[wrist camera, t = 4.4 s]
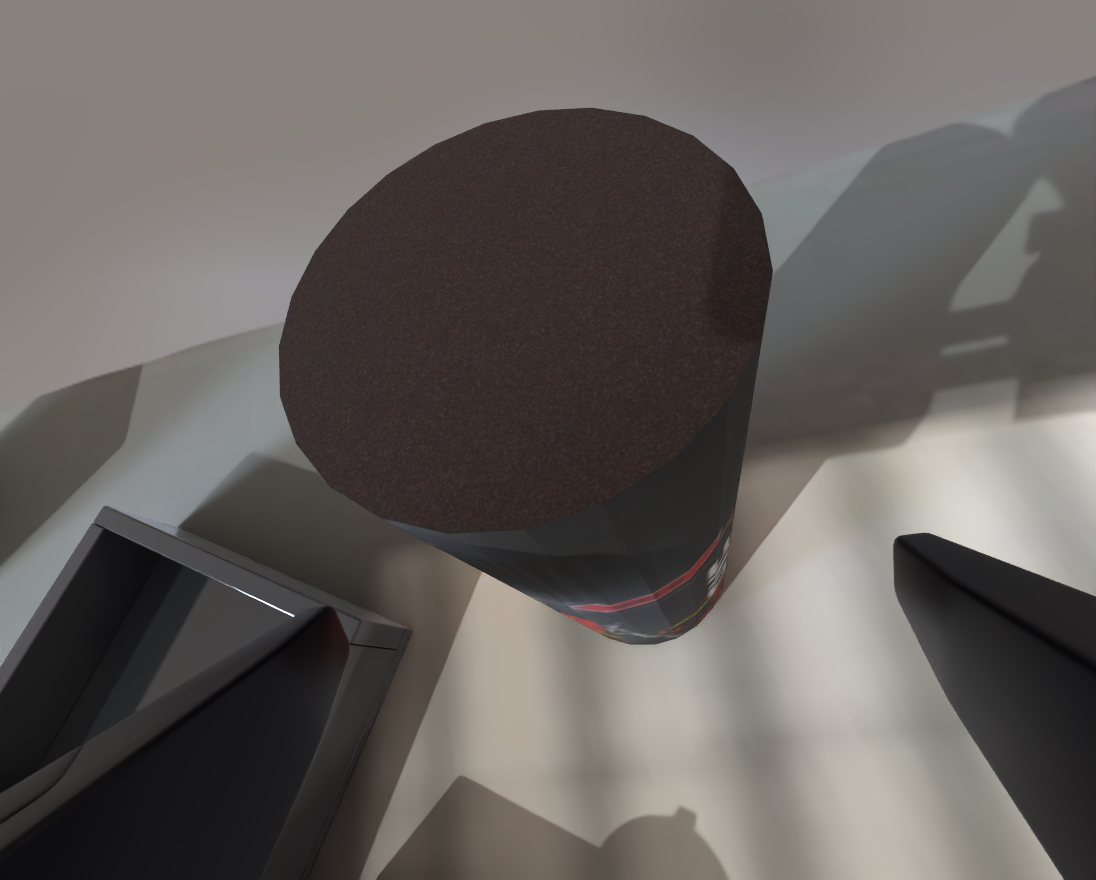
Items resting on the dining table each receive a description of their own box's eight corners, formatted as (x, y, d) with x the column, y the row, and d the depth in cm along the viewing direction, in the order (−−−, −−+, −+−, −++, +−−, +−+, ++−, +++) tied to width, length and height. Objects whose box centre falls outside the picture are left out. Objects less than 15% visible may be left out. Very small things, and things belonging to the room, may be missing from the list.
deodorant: (568, 474, 22) (353, 138, 8) (727, 482, 20) (770, 75, 7) (547, 632, 19) (207, 512, 6) (724, 657, 18) (776, 562, 4)
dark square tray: (224, 1076, 17) (114, 1165, 14) (-16, 851, 22) (-136, 878, 18) (413, 630, 21) (362, 619, 18) (175, 526, 26) (103, 504, 23)
